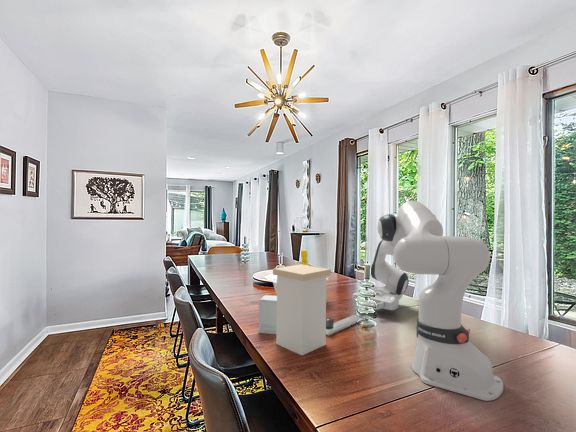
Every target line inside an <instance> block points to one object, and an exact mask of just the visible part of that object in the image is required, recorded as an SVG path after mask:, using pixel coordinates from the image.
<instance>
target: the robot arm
mask: <svg viewBox="0 0 576 432" xmlns="http://www.w3.org/2000/svg"><path fill="white" fill-rule="evenodd" d="M377 222H378V223H377V233H378V234H379V237H380V239H381V240H380V241H379V243H378V245H377V248H376V250H375V255H374V257H373V261H372V264H371V266H370V268H371V274H370V276H371V278H372V279H374V280H376V281H378V282H380V283H381V284H383V285H384V286H382V287H379V288H375V289H373V291H374V292H375V293H376V296H375V297H374V298H371V299H370V300H373V301H375V302H376V304H377V306H376V308H375V309H384V310H388V311H395V310H397V309H399V306H400V305H399V304H400V303H399V302H400V300H401V299H402V298H403V296H404V294H405V292H406V290H407V289H408V286H409V281H410V280H409V276H408V274H407V273H411V274H416V275H432V276H433V275H437V279H436V280H435V282H433V283H432V284H430V285H429V286H427V287H425V288H423V289H422V290H421V292H420V294H419V295H418V318H417V320H416V326H415V328H416V329H415V331H416V338H417V341H416V348H415V352H414V353H415V354H414V358H413V360H412V363H411V368H412V370H413V371H414V372H415V374H417V375H418V376H419V378H420V380H421V382H423V383H424V384H427V385H430V386H434V387H436V388H440V389H443V390H447V391H451V392H453V393H458V394H461V395H464V396H466V397H467V396H468V397H471V398H475V399H478V400H481V401H485V402H486V401H487V402H489V401H490V402H491V401H494V400H497V399H498V398H499V397H501V395H502V394H503V392H504V383H503V381H502V379H501V378H500V377H499V376H497V375H494V371H493V370H494V368H493V365H492V363H491V362H492V361H491V360H490V359H489V357H488V356H487V355H485V354H484V353H483V352H482V351H480V350H479V349H478V348H477V347H476V346H475V345H474V344H473V343H472V342H471V341H470V340H469V339H470V334H471V329H470V328H468V329H467V328H466V327H464V326H463V324H462V311H463V301H464V296H465V294H466V293H467V292H466V291H467V290H468V288H469V286H470V285H471V283H472V282H473V281H474V280H475V278H476V277H478V276H479V275H480V274H482V273H484V271H485V270H486V269H487V268H488V266H489V264H490V261H491V254H490V250H489V248H488V247H487V244H486V243H484V242H483V240H481V239H477V238H473V237H467V236H458V235H457V236H450V235H449V236H448V235H446V236H445V235H444V229H443V227H444V226H443V225H442V223H441V222H440V221H439V219H438V218H437V217H436V215H435V213H433V212H432V211H431V210H430V209H429V207H427V206H426V205H424V204H423V203H421V202H420V201H417V200H408V201H406V202H404V203H403V204H401V205H400V207H399V209H398V212H397V213H387V214H385V215H383V216H380V218H379V219H378V221H377ZM387 255H388V256H389V255H390V256H393V259H394V263H395V264H396V266H397V267H398V268H397V267H396V266H393V265H391V264H389V263H388V262H387V261H386V257H387ZM359 292H360V291H356V292H353V294H352V301H353V302H354V304H357V303H356V302H357V299H358V293H359Z"/></svg>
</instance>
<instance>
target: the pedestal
mask: <svg viewBox="0 0 576 432" xmlns="http://www.w3.org/2000/svg"><path fill="white" fill-rule="evenodd" d="M308 265H309V264H308ZM308 265H302V264H301V263H300V264H295V265H287V266H282V267H276V268H273V269H272V274H273V275H277V284H276V285H277V290H276V291H277V292H276V296H277V332H276V334H275V335H276V336H275V337H276V341H275V343H276V345H278V346H280V347H282V348H284V349H286V350H288V351H291V352H293V353H295V354H298V355H300V356H304V355H306V354H308V353H311V352H313V351H315V350H317V349H319V348H322V347H325V346H326V345H327V342H326V341H327V339H326V336H327V335H326V318H327V280H326V277H329V276H331V270H332V269H331V268H325V267H320V266H319V267H318V266H314V265H313V266H312V265H309V266H308Z"/></svg>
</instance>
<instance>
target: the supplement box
mask: <svg viewBox="0 0 576 432" xmlns="http://www.w3.org/2000/svg"><path fill="white" fill-rule="evenodd" d="M258 303H259V305H258V308H259V309H258V333H259V334H266V335H267V334H270V335H276V332H277V295H268V294H267V295H263V296H262V297H261V298H260V299H259V301H258Z"/></svg>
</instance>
